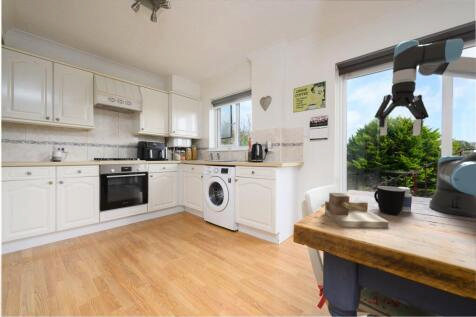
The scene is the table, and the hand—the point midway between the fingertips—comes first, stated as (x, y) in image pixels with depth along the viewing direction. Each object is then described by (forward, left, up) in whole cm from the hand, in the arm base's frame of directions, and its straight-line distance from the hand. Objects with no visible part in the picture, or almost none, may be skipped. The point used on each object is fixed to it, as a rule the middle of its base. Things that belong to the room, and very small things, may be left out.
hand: (399, 135), depth 83 cm
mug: (+5, +2, -32) cm, 32 cm away
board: (+24, +12, -32) cm, 42 cm away
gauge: (+29, +13, -30) cm, 44 cm away
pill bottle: (-3, 0, -32) cm, 32 cm away
